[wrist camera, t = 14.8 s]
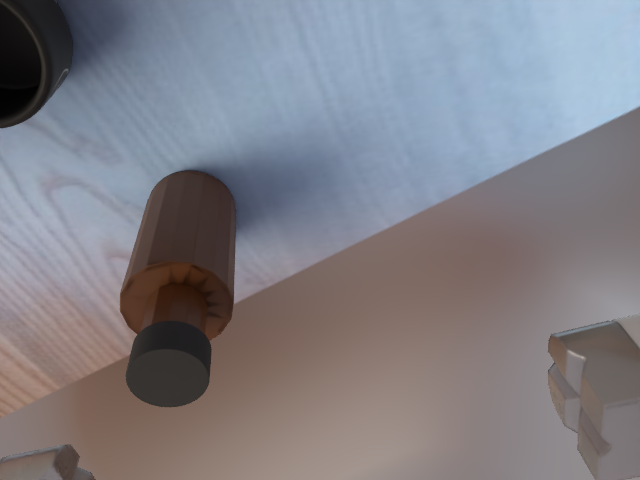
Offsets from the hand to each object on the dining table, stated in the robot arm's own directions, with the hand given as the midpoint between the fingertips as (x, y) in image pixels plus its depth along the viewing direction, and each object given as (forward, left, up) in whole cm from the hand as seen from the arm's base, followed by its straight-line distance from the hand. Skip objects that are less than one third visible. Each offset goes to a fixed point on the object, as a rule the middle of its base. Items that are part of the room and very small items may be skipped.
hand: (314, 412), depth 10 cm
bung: (-10, -15, -22) cm, 28 cm away
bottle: (-10, -15, -37) cm, 41 cm away
